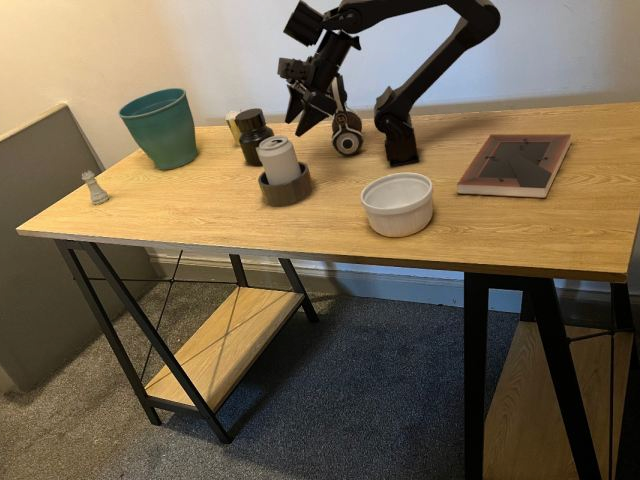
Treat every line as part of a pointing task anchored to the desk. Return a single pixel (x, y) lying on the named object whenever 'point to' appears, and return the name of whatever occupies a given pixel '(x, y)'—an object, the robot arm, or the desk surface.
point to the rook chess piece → (95, 188)
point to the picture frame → (515, 165)
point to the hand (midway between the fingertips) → (291, 129)
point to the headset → (345, 122)
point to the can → (279, 160)
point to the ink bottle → (252, 134)
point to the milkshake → (233, 125)
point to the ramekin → (398, 203)
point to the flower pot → (162, 127)
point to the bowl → (287, 189)
